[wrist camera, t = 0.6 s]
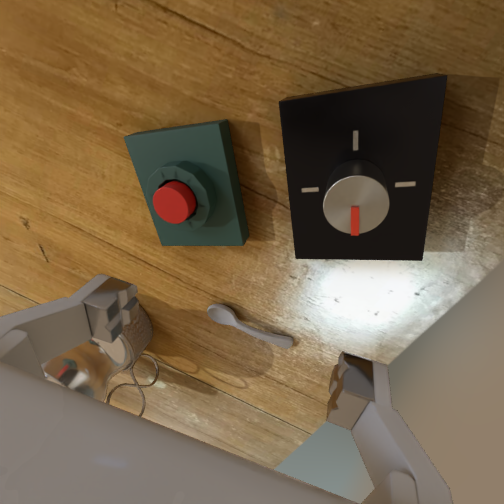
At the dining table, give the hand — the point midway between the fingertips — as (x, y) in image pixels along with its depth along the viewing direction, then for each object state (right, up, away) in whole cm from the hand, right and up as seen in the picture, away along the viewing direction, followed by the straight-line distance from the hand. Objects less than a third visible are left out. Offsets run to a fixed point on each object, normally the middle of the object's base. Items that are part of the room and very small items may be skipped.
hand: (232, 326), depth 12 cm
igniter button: (-6, +8, +18) cm, 20 cm away
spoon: (+1, -6, +29) cm, 30 cm away
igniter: (-5, +10, +21) cm, 23 cm away
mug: (-19, -9, +37) cm, 43 cm away
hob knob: (+9, +8, +13) cm, 18 cm away
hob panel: (+10, +10, +15) cm, 21 cm away
